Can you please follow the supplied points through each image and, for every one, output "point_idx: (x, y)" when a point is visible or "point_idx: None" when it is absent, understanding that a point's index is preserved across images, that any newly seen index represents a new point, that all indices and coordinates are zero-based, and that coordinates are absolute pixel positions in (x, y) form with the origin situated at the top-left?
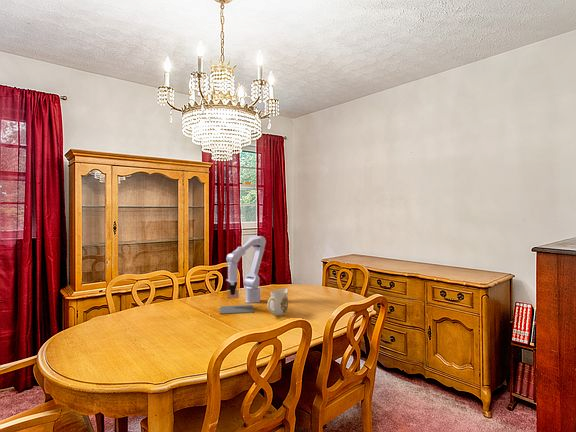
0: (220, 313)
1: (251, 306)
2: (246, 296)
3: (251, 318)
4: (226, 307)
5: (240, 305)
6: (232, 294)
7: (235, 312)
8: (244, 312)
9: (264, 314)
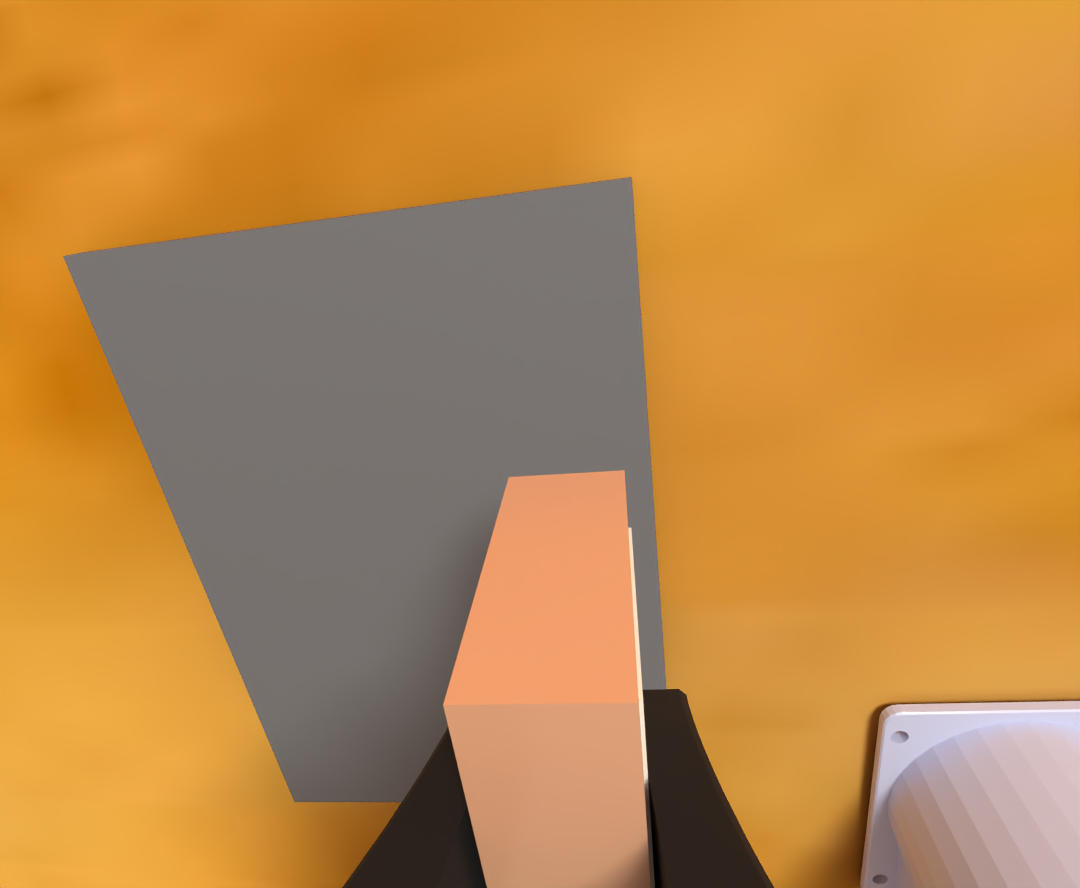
0: (76, 276)
1: None
2: (1044, 827)
3: (44, 755)
4: (521, 359)
5: (658, 631)
6: None
7: (195, 565)
8: (252, 688)
9: (246, 883)
